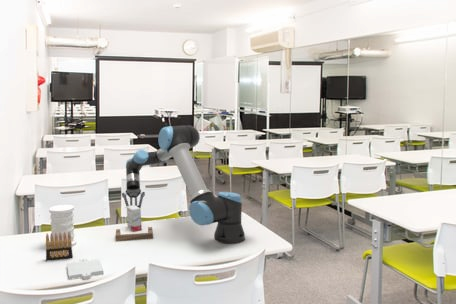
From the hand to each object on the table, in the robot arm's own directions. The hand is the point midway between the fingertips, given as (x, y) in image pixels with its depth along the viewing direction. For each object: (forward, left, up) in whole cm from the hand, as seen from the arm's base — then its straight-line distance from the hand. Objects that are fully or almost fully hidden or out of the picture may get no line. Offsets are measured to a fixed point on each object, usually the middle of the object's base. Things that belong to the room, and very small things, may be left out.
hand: (134, 219), depth 234 cm
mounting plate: (-57, +20, -4) cm, 60 cm away
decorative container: (-24, +33, -3) cm, 41 cm away
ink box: (-7, 0, -3) cm, 8 cm away
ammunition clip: (-42, +32, -3) cm, 53 cm away
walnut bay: (-19, 0, -3) cm, 19 cm away
